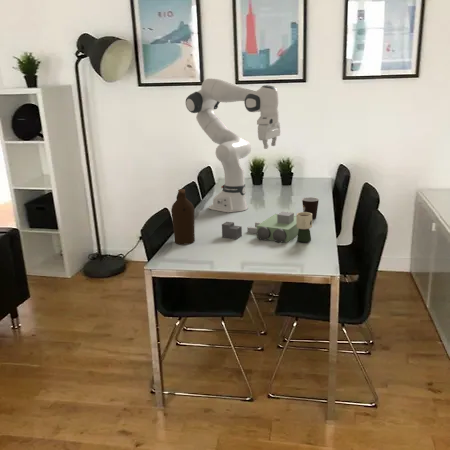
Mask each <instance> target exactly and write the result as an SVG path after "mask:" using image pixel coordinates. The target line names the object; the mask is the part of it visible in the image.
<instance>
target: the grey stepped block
mask: <svg viewBox="0 0 450 450" xmlns="http://www.w3.org/2000/svg"><path fill="white" fill-rule="evenodd" d="M242 228H243V227H242V226H240V225H235V222H232V221H226V222H224V223H221V236H222V238H225V239H233V240H238V239H240V238H242V236H243V231H242V230H243V229H242Z"/></svg>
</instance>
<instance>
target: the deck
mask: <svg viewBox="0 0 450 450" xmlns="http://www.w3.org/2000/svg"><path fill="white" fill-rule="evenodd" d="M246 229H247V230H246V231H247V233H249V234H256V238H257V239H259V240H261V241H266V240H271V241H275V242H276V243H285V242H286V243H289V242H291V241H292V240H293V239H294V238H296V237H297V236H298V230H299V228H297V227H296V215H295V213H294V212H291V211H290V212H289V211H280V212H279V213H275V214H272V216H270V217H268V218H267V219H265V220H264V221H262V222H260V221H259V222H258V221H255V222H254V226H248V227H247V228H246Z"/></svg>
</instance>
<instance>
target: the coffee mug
mask: <svg viewBox="0 0 450 450" xmlns="http://www.w3.org/2000/svg"><path fill="white" fill-rule="evenodd" d="M319 200H320V199H319V197H315V196H314V197H313V196H311V197H309V196H307V197H304V198H302V199H301V202H302V212H309V213H312V220H315V218H316V219H317V215H318V208H319Z"/></svg>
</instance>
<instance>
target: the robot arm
mask: <svg viewBox="0 0 450 450" xmlns="http://www.w3.org/2000/svg"><path fill="white" fill-rule="evenodd" d="M200 88H201V89H200V90H198V91H194V92H193V93H190V94H189V95H188V96H187V97H186V99H185V107H186V109H187V111H188V112H190V113H191V114H196V121H197V123H198V125H199V126H200V128H201V129H202V131H204V133H205V134H206V135H207V136H208V138H209V139H210V140H211V141H212V142H213V143H214V144H217V145H218V146H217V147H216V148H215V157H216V159H217V160H218V161H219V162H220V163H221V165H222V169H223V172H224V184H222V185H221V187H220V188H221V189H222V191H220V192H219V193H218V194H216V196H214V198H213V200H212V204H210V205H209V207H208V209H209V210H212V211H218V212H224V213H235V212H236V213H237V212H243V211H246V210H248V209H249V206H248V204H247V198H246V184H245V171H244V169H243V168H242V167H241V165H240V160H241V159H244V158H246V157H247V156H249V154H251V151H252V146H251V143H250V141H249V140H247V139H245V138H242V137H240V136H239V135H238V134H236V133H235V132H234V131H232V130H231V129H230V128H228V127H227V126H226V124H225V123H224V122H223V121H222V120H221V118H219V117H218V116H217V114H216V113H215V110H217V109H218V108H219V104H220V103H225V104H226V103H234V102H243V103H244V107H245V110H247V112H250V113H260V116H259V117H258V119H257V120H256V125H257V138H258V140H259V141H262V144H263V149H264V150H266V149H267V150H268V149H269V144H268V140H271V142H270V143H271V144H270V145H271V147H275V146H276V143H277V138H278V137H279V136H281V125H280V124H281V123H280V122H279V109H278V107H279V92H278V89H277V87H275V86H274V85H269V84H266V85H262V86H261V87H260V88H258V89H257V90H254V89H253V90H251V89H248V88H245V87H241V86H239V85H236V84H232V83H231V82H228V81H225V80H222V79H218V78H206V79H204V80H203V82H202V83H201V87H200Z"/></svg>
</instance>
